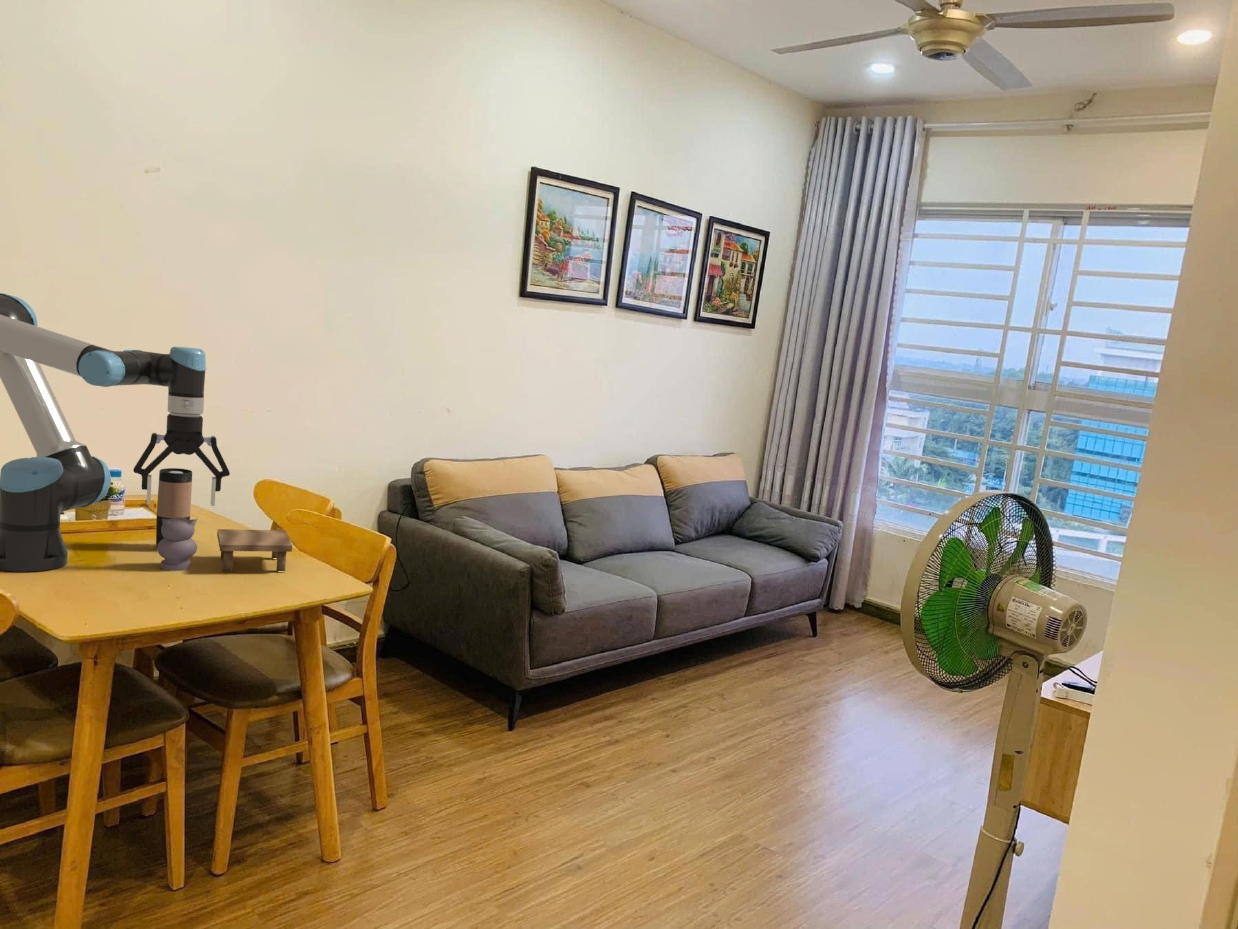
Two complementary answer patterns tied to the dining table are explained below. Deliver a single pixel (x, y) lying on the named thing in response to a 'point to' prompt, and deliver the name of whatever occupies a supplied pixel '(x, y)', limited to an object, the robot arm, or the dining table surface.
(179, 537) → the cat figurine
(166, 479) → the travel mug
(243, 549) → the footstool
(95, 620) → the dining table surface
